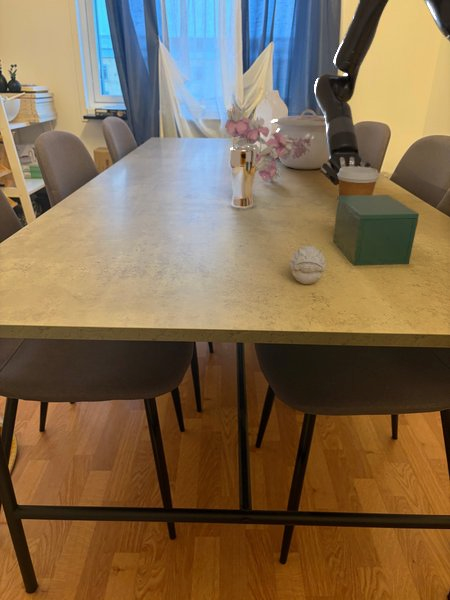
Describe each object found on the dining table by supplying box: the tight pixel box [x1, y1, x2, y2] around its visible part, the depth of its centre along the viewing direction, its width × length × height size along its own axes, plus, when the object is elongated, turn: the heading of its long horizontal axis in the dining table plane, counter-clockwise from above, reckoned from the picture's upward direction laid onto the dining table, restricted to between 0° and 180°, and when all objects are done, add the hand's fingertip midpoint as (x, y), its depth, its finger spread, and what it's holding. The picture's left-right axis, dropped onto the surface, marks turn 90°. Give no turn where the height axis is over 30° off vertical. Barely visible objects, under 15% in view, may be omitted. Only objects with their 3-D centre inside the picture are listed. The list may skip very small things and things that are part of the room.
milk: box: [254, 89, 289, 152], centre depth 202 cm, size 12×12×26 cm
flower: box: [224, 103, 292, 182], centre depth 138 cm, size 20×22×25 cm
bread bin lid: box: [336, 194, 420, 219], centre depth 83 cm, size 14×11×1 cm
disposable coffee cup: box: [337, 166, 380, 196], centre depth 104 cm, size 10×10×12 cm
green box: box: [332, 200, 419, 266], centre depth 85 cm, size 14×11×9 cm
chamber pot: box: [271, 108, 329, 171], centre depth 165 cm, size 28×28×21 cm
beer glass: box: [229, 146, 257, 209], centre depth 115 cm, size 7×7×15 cm
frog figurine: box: [288, 245, 327, 285], centre depth 72 cm, size 6×7×7 cm
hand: (349, 197), depth 109 cm, fingers closed
